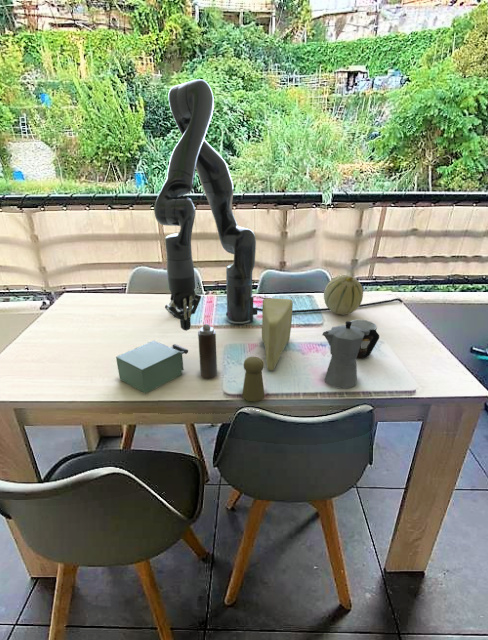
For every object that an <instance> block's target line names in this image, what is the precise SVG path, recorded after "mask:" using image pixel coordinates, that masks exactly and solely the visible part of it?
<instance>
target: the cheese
mask: <svg viewBox="0 0 488 640" xmlns="http://www.w3.org/2000/svg"><path fill="white" fill-rule="evenodd" d="M293 304H294V302H293V300H292V299H290V298H275V297H274V298H273V297H267V298H266V297H265V298H263V299H262V308H261V309H262V311H261V312H262V313H261V314H262V315H261V316H262V317H261V318H262V319H261V340H262V342H263V346H264V349H265V361H266V362H265V363H266V367H267V370H268V371H274V370H275V368H276V367H277V364H278V362H279V359H280V357H281V355H282V353H283V352H284V350H285V348H286V346H287V344H288V343H289V341H290V339H291V332H292V331H291V330H292V322H293V313H292V311H293Z"/></svg>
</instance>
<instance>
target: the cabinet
mask: <svg viewBox="0 0 488 640" xmlns="http://www.w3.org/2000/svg"><path fill="white" fill-rule="evenodd" d="M161 343H162V342H159V341H156V340H152V341H149V342H147V343H145V344H142V345H140V346H138V347H135V348H133V349H131V350H128V351H126V352H124V353H121V354H119V355H117V356H115V359H116V364H117V372H118V376H119V380H120V381H122V382H124V383H125V384H127V385H129V386H131V387H133V388H134V389H136V390H138V391H140V392H142V393H144V394H147V393H149V392H152V391H153V390H155V389H157V388H159V387H161V386H163V385H165V384H166V383H168V382H170V381H172V380H174V379H176V378H178V377H180V376H181V375H183V370H182V368H181V357H180V352H179V351H177V350H175V349H172V348H170V346H169V345H166V344H164V345H163V343H162V344H161ZM168 346H169V347H168Z"/></svg>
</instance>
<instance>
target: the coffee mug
mask: <svg viewBox="0 0 488 640" xmlns="http://www.w3.org/2000/svg"><path fill="white" fill-rule="evenodd" d="M350 322H352V324H351V326H354V327H357V328H359V329H361V330H362V329H368V330H371V329H374V330H376V331H377V328H378V325H377V324H376V323H375V322H373V321H370V320H366V319H352V320H350ZM372 338H373V336H369V337H363V340H362V343H361V346H360V349H359V352H358V355H357V358H356V360H364V359H367V358H368V357H362V356H361V354H365V353H366V352H367V348H368V346H369V345H370V342H371V340H372Z"/></svg>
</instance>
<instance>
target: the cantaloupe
mask: <svg viewBox="0 0 488 640" xmlns="http://www.w3.org/2000/svg"><path fill="white" fill-rule="evenodd" d="M363 298H364V288H363V286H362V284H361V283H360V281H359V280H358V279H357V278H355V277H354V276H352V275H348V274H341V275H337V276H334V277H333V278H332V279H330V281H329V282H328V283H327V284H326V286H325V288H324V292H323V301H324V304H325V305H326V308H329V309H330V310H329V311H331V312H332V313H334V314H337V315H341V316H343V315H349V314H352V313H353V312H355V311H356V310H357V309H358V308H360V307H359V306H360V305H361V304H362V301H363Z"/></svg>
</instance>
